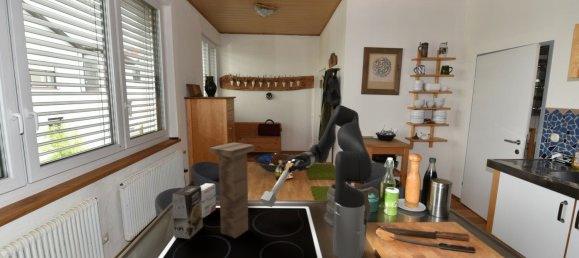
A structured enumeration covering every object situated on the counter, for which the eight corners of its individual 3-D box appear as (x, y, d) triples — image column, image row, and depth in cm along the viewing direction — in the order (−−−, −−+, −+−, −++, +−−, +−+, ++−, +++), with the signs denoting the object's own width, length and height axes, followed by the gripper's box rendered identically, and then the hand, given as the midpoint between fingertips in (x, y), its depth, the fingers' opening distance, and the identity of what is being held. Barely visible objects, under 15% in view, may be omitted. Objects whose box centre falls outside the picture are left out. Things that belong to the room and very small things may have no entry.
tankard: (322, 225, 103) (323, 188, 101) (327, 211, 115) (328, 178, 113) (376, 233, 98) (378, 194, 96) (376, 218, 110) (378, 183, 107)
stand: (255, 227, 101) (254, 145, 96) (233, 243, 91) (231, 151, 86) (235, 221, 106) (233, 142, 101) (212, 234, 96) (209, 147, 91)
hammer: (288, 166, 121) (285, 159, 118) (295, 167, 119) (293, 161, 116) (263, 204, 106) (260, 198, 104) (271, 207, 104) (268, 200, 102)
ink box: (207, 207, 118) (206, 182, 116) (216, 209, 116) (215, 183, 115) (194, 216, 110) (192, 188, 108) (204, 218, 108) (202, 190, 107)
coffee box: (190, 239, 93) (188, 195, 90) (173, 237, 94) (171, 193, 92) (203, 226, 101) (201, 186, 99) (188, 224, 103) (186, 184, 101)
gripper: (292, 151, 133) (272, 158, 118) (317, 154, 125) (300, 163, 111) (292, 165, 134) (272, 175, 119) (317, 170, 127) (299, 180, 112)
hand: (285, 169), depth 115 cm, fingers closed on hammer, 3 cm apart
